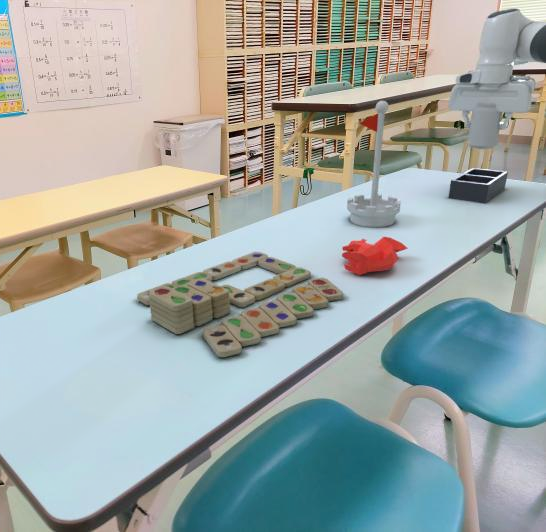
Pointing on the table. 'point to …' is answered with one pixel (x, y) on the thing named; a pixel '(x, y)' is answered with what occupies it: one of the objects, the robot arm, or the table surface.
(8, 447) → the table surface
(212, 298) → the pile of dominoes
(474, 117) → the can
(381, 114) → the flag stand
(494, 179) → the dark grey divided tray
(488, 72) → the robot arm
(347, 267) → the animal figurine
